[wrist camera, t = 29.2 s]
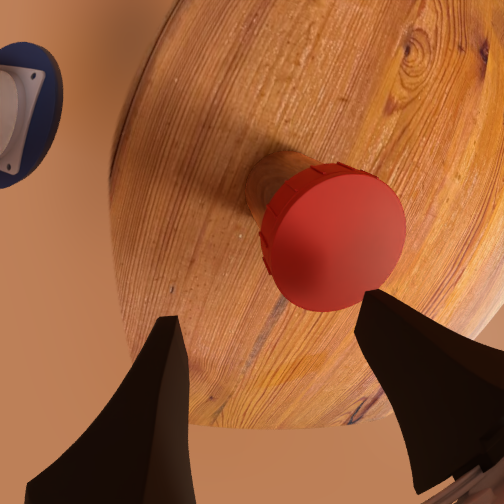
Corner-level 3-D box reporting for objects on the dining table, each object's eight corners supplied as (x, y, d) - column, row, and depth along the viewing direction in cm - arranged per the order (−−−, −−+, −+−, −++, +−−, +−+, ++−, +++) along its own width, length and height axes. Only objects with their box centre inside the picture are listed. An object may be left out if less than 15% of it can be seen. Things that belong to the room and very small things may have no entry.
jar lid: (357, 137, 10) (383, 144, 8) (394, 245, 13) (416, 263, 11) (231, 212, 11) (237, 232, 9) (296, 308, 14) (309, 334, 12)
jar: (234, 216, 18) (256, 283, 11) (261, 139, 16) (305, 157, 9) (305, 235, 19) (356, 301, 13) (333, 166, 17) (406, 203, 11)
